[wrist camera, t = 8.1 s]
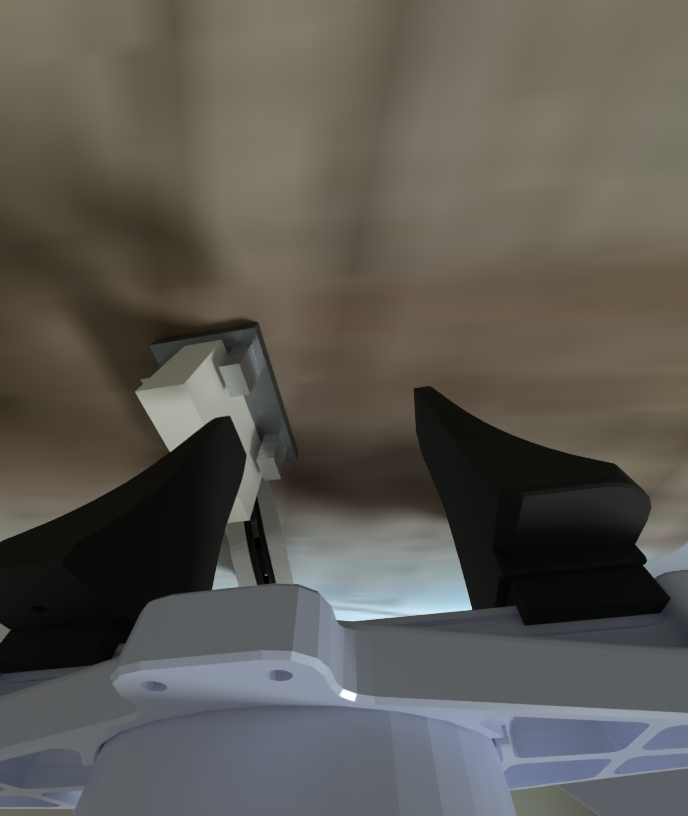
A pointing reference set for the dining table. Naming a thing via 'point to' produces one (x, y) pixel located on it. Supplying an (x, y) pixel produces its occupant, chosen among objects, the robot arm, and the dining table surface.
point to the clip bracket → (245, 388)
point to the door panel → (202, 410)
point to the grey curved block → (272, 553)
